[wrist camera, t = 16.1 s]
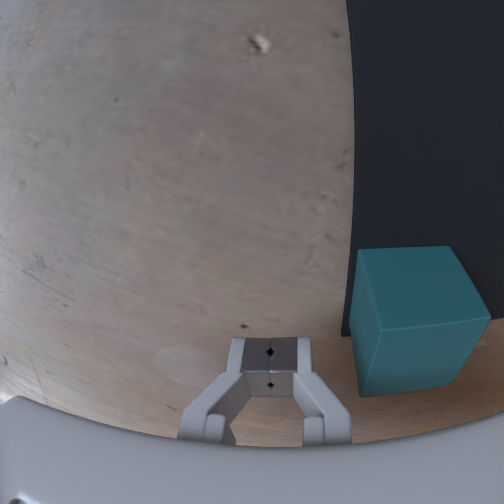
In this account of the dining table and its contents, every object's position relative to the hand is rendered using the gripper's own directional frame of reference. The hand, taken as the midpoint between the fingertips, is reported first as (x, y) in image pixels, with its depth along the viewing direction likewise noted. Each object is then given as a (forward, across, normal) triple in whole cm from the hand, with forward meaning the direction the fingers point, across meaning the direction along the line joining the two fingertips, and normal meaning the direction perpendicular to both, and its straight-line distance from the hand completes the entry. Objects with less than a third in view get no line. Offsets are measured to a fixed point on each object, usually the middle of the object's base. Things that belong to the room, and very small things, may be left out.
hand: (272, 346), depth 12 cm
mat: (+4, -15, -7) cm, 17 cm away
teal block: (+3, -6, 0) cm, 7 cm away
